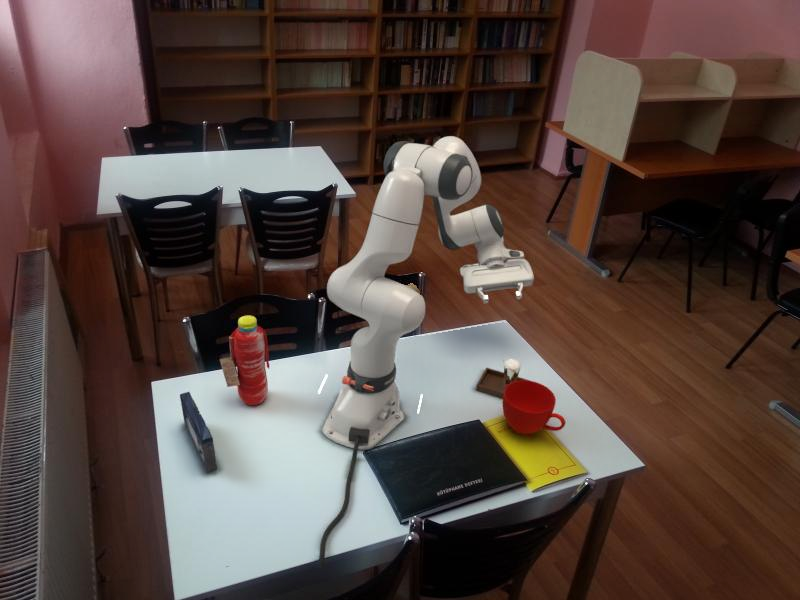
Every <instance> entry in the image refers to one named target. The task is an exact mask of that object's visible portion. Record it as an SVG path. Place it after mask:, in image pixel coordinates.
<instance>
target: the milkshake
mask: <svg viewBox="0 0 800 600" xmlns="http://www.w3.org/2000/svg"><path fill="white" fill-rule="evenodd" d="M502 362H503V373H504V379H503V389H504V390H505V388H506V386H507V385H508V384H510V383H512V382H514V381H517V378H518V377H519V375H520V371H521V368H522V364H521V363H520V362H521V361H519V360H517V359H515V358H508V359H507V360H505V361H504V360H502Z"/></svg>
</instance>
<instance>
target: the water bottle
mask: <svg viewBox="0 0 800 600" xmlns="http://www.w3.org/2000/svg"><path fill="white" fill-rule="evenodd" d="M257 322H258V320H257V318H256V317H255V316H254V315H244V316H241V317H239V318H238V320H237V325H238V326H237V328H236V329H235V330H234V331H233V332H232V333H231V335H230V336H229V337H228V339H229V343H228V344H229V354H230V356H228V357H223V358H220V359H219V362H220V366H221V369H222V374H223V376H224V380H225V383H226V387H227V388H230V387H237V393H238V394H237V395H238V396H239V398H240V400H241V401H242V402H243V403H244V404H246V405H248V406H257V405H260V404H262V403H263V402H264V401H265V400H266V398H267V395H268V391H269V383H268V382H269V381H268V376H267V370H266V369H270V362H269V358H270V356H269V355H270V354H269V343H268V338H267V333H266V331H265V329H264V328H263V327H262V326H259V325H258V323H257ZM235 362H236V363H235Z"/></svg>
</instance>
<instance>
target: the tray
mask: <svg viewBox="0 0 800 600" xmlns="http://www.w3.org/2000/svg"><path fill="white" fill-rule="evenodd" d="M503 379H504V371H500V370H496V369H492V368H490V367H485V369H484V371H483V373H482V375H481V376H480V378H479V381H478V382H477V383H476V388H475V390H476V391H478V392H481V393H484V394H488V395H491V396H494V397H497V398H501V399H503V394H504V389H503ZM519 380H528V381H531V380H530V379H527V378H523V377H519V376H518V378H517V381H519Z"/></svg>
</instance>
